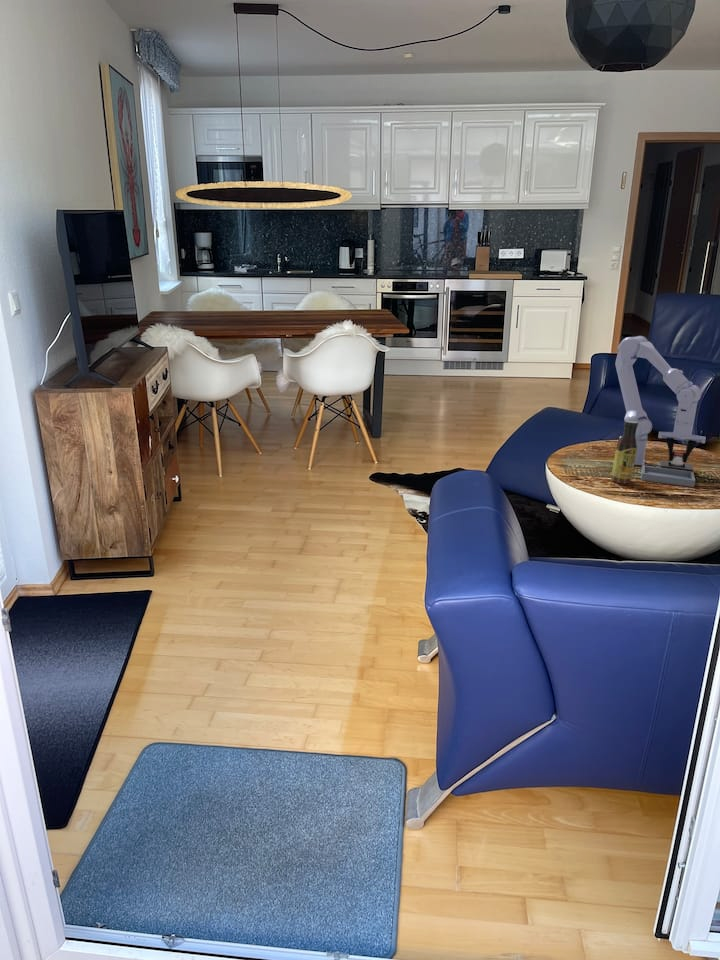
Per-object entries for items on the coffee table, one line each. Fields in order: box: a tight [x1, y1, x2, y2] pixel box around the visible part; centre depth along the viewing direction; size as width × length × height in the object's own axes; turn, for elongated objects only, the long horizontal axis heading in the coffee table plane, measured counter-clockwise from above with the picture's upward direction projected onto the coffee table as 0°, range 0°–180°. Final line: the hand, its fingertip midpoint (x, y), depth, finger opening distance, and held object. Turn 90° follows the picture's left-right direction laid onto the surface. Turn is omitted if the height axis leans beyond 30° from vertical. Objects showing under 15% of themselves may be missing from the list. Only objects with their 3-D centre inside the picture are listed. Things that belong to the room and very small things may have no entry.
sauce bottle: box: [610, 420, 638, 485], centre depth 230 cm, size 7×6×20 cm
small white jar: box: [670, 450, 686, 467], centre depth 246 cm, size 4×4×7 cm
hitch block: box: [659, 459, 694, 472], centre depth 247 cm, size 10×8×2 cm
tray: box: [640, 465, 696, 488], centre depth 238 cm, size 16×11×2 cm
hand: (677, 460), depth 246 cm, fingers closed on small white jar, 4 cm apart
